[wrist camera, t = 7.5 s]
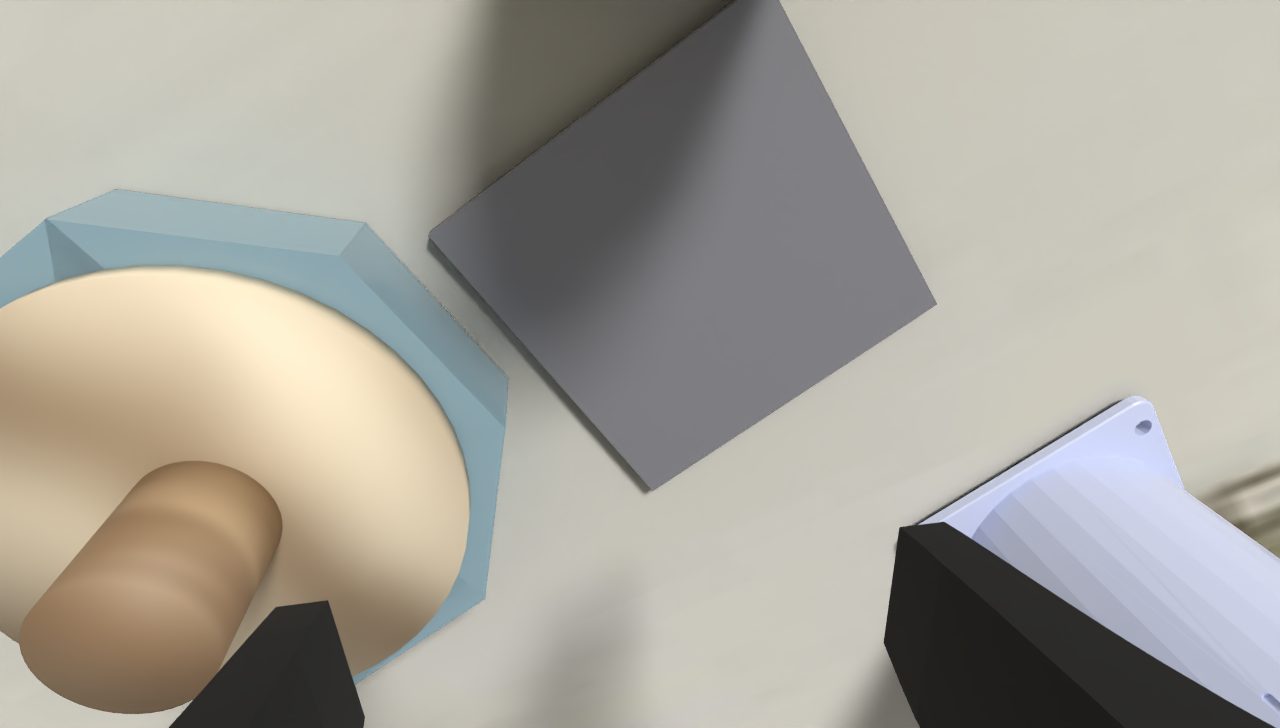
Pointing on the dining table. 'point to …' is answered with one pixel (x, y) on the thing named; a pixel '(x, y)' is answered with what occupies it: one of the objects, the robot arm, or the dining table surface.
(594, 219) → the mat
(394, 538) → the lid
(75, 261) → the bowl
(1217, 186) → the dining table surface
